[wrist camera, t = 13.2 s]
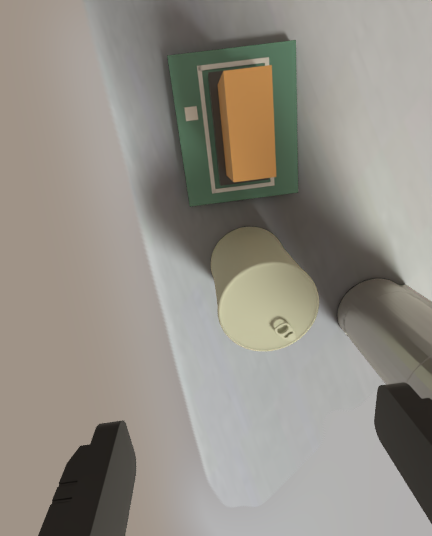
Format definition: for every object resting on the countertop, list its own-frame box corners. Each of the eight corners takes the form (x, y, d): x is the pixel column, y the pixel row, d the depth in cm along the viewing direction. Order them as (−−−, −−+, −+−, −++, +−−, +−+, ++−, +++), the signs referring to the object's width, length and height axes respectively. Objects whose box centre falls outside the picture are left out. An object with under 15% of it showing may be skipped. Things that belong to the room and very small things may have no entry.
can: (239, 309, 41) (257, 372, 29) (195, 257, 37) (195, 306, 26) (298, 267, 39) (340, 317, 28) (257, 210, 36) (285, 240, 25)
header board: (291, 43, 30) (313, 22, 25) (294, 190, 35) (312, 199, 30) (168, 58, 30) (162, 40, 24) (189, 204, 35) (189, 215, 30)
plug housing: (256, 80, 28) (271, 64, 23) (261, 170, 31) (276, 176, 26) (217, 84, 28) (223, 70, 23) (226, 175, 31) (233, 182, 26)
